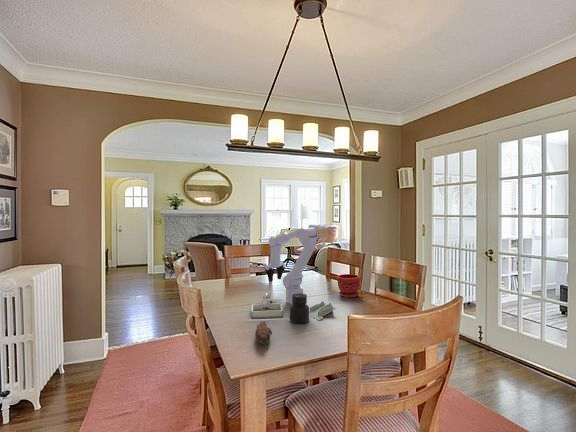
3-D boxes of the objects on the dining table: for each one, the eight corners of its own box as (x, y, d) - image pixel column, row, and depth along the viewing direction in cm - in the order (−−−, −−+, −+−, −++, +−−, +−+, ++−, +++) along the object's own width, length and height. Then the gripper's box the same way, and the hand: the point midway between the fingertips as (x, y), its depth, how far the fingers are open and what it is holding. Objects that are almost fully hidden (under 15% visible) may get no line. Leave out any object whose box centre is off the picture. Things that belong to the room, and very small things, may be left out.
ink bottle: (313, 320, 146) (313, 295, 146) (302, 326, 139) (301, 299, 139) (297, 316, 152) (297, 291, 152) (285, 321, 146) (285, 295, 145)
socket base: (274, 304, 172) (274, 299, 172) (275, 309, 164) (275, 304, 164) (259, 305, 171) (259, 300, 171) (259, 309, 163) (259, 304, 163)
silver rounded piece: (266, 310, 159) (266, 292, 159) (272, 312, 156) (272, 293, 156) (259, 312, 156) (260, 293, 156) (265, 314, 153) (265, 295, 153)
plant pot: (352, 292, 198) (352, 272, 197) (363, 297, 185) (364, 277, 185) (333, 293, 193) (333, 274, 193) (344, 299, 181) (344, 278, 181)
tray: (281, 310, 162) (281, 303, 162) (283, 317, 150) (283, 310, 150) (251, 311, 161) (251, 304, 161) (251, 319, 149) (251, 311, 149)
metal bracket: (322, 297, 165) (339, 305, 152) (324, 307, 166) (342, 316, 153) (299, 309, 159) (315, 318, 146) (301, 319, 160) (318, 329, 146)
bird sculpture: (269, 327, 138) (269, 316, 138) (274, 353, 113) (274, 339, 113) (254, 328, 137) (254, 316, 137) (256, 354, 112) (256, 340, 112)
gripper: (278, 254, 191) (277, 276, 192) (261, 257, 180) (261, 281, 181) (287, 256, 187) (286, 278, 188) (271, 259, 176) (270, 283, 176)
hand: (274, 280), depth 184 cm, fingers open, 7 cm apart
